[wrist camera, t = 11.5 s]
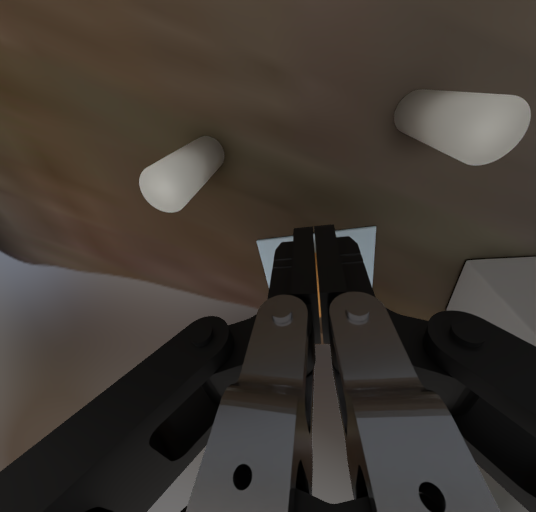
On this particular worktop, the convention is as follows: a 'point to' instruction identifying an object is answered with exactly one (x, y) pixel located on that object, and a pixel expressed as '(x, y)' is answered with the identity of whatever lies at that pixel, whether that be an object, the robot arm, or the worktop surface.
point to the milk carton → (500, 294)
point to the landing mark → (359, 235)
